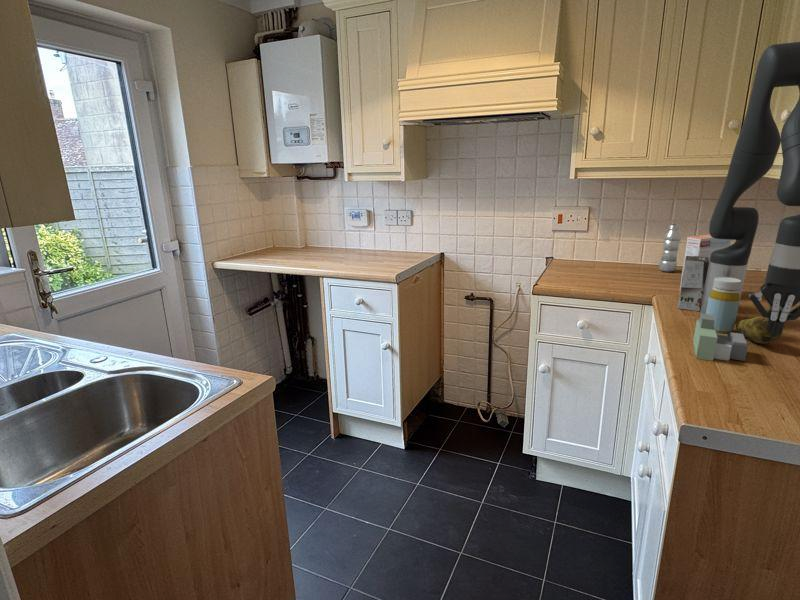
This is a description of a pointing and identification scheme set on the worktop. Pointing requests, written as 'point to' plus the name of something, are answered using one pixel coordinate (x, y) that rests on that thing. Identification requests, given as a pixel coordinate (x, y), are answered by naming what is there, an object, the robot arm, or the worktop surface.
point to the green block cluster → (709, 340)
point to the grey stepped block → (735, 345)
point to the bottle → (724, 303)
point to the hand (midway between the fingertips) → (772, 334)
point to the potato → (756, 330)
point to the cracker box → (703, 247)
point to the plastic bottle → (670, 249)
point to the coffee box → (693, 282)
